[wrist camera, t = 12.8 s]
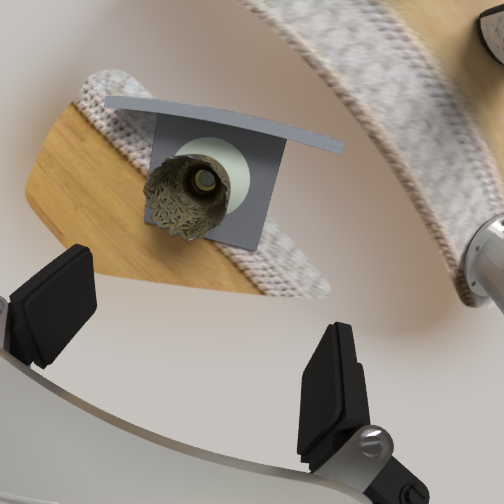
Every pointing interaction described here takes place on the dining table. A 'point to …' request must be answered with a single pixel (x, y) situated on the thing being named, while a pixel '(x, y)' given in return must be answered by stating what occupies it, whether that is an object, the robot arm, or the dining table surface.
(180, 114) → the acrylic wall
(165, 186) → the cup
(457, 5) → the dining table surface
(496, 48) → the wine bottle
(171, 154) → the mat
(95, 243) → the dining table surface
